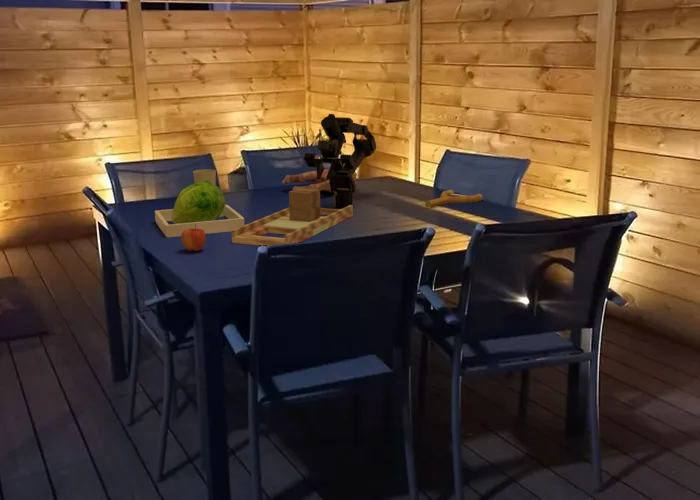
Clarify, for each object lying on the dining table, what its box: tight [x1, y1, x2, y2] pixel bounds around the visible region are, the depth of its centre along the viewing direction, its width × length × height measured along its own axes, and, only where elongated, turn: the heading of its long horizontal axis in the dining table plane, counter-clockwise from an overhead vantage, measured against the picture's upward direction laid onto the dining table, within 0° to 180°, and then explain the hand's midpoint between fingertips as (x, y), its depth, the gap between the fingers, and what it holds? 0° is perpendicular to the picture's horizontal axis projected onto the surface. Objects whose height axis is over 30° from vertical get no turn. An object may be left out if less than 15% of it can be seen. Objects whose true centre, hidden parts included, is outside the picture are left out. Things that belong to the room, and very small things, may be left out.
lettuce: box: [171, 181, 226, 224], centre depth 269 cm, size 17×20×17 cm
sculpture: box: [281, 164, 358, 194], centre depth 330 cm, size 12×26×30 cm
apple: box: [180, 224, 207, 252], centre depth 235 cm, size 7×7×8 cm
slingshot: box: [424, 189, 484, 209], centre depth 305 cm, size 18×3×25 cm
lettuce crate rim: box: [154, 204, 245, 238], centre depth 269 cm, size 26×26×4 cm
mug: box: [192, 168, 217, 186], centre depth 315 cm, size 11×10×12 cm
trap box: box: [231, 204, 354, 247], centre depth 264 cm, size 51×20×4 cm, turn 157°
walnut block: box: [288, 188, 321, 222], centre depth 268 cm, size 8×8×10 cm
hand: (322, 179), depth 280 cm, fingers open, 3 cm apart
